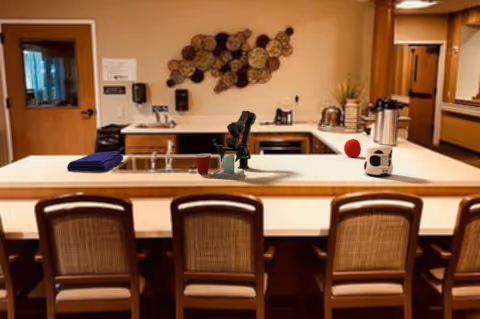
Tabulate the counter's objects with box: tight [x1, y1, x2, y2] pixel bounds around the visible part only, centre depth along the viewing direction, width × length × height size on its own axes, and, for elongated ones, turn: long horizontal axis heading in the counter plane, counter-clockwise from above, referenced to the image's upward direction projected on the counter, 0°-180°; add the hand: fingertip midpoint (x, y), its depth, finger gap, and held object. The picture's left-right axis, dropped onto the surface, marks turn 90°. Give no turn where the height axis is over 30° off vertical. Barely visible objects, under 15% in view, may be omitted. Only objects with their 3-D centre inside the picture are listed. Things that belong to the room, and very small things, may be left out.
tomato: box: [343, 138, 362, 158], centre depth 361 cm, size 13×11×14 cm
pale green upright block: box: [223, 153, 236, 174], centre depth 292 cm, size 6×6×12 cm
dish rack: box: [212, 168, 245, 180], centre depth 293 cm, size 14×16×3 cm
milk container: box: [363, 144, 394, 177], centre depth 298 cm, size 17×17×18 cm
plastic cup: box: [193, 153, 212, 175], centre depth 300 cm, size 11×11×12 cm
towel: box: [66, 150, 125, 172], centre depth 321 cm, size 26×36×9 cm
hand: (228, 161), depth 290 cm, fingers open, 9 cm apart
